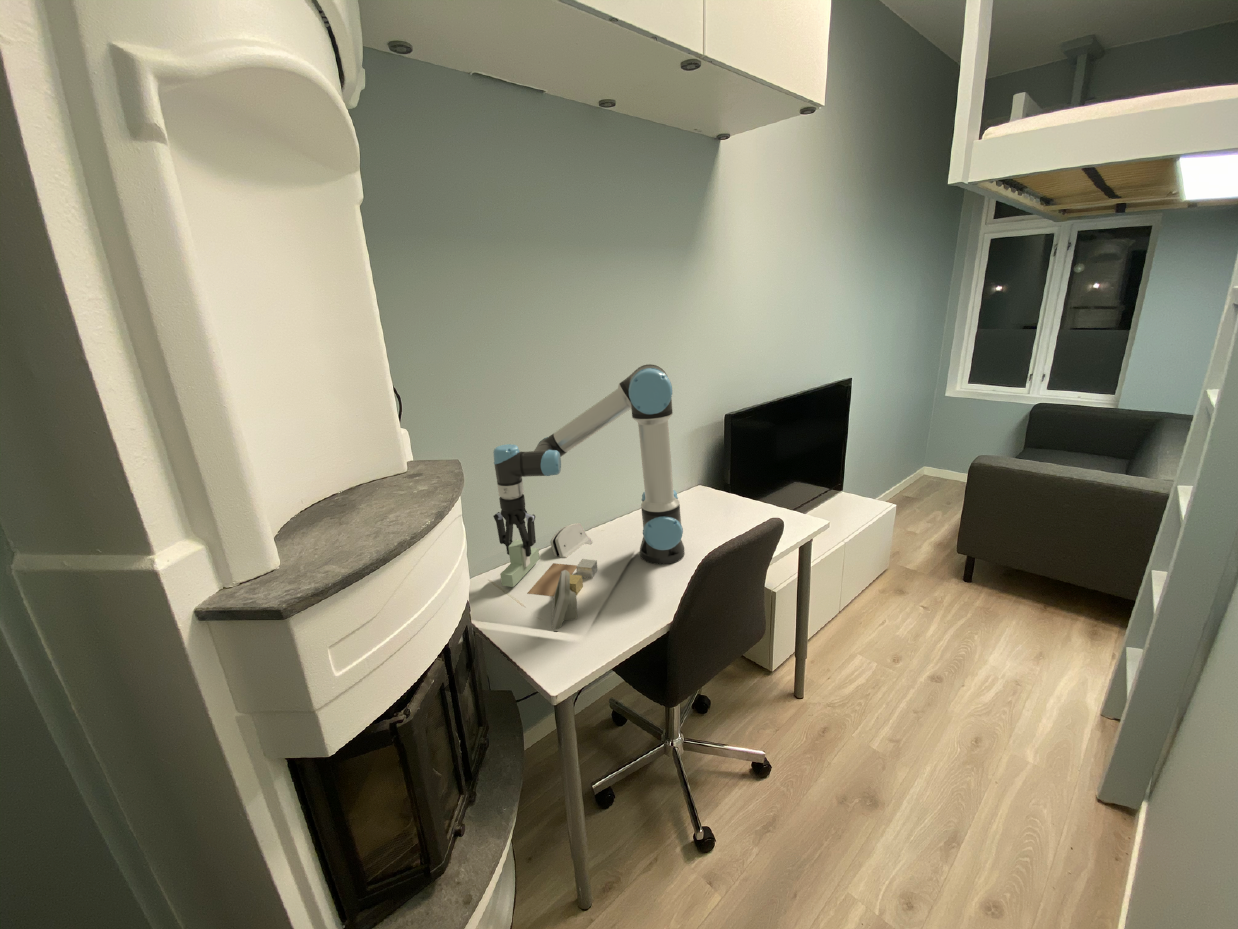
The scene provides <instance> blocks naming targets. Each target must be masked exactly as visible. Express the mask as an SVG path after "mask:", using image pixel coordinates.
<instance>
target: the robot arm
mask: <svg viewBox="0 0 1238 929" xmlns="http://www.w3.org/2000/svg"><path fill="white" fill-rule="evenodd" d="M672 395H673V386H672V383H671V380H670V378H669V377H668V374H667V373H666V371H665V370H663V368H661V367H660V366H658V365H656V364H652V363H649V364H642V365H640V366H639V367H637V368H636V369H635V370H634V371H633V372H632V373H631V374H630V375H629V376H627V377H626V378H625V379H624V380H623V379H622V381H620V382H619V383H618V386H617V388H616V389H615V390H614V391H612V392H611V393H609V394H607V396H605V397H604V398H602V399H600V400H599V401H598V402H596V403H595V404H594V405H592V406H591V407H589V408H588V409H587V410H585V411H583V412H582V413H580V414H579V415H577V416H576V417H575V418H573V419H572V420H570V421H569V422H568V423H566V424H564V425H563V426H562V427H560V428H559V429H558V430H556V431H554V432H553V433H552V434H550V435H549V436H546V437H544V438H543V439H541V440H540V441H538V443H537V446H536V447H535V449H534V450H532V451H531V450H530V451H520V449H519V446H518V445H517V444H511V443H510V444H508V443H507V444H502V445H498V446H496V447H495V448H494V450H493V461H494V462H493V465H494V470H495V477H496V484H497V492H498V496H499V498H498V499H499V505H500V507H499V508H500V509H501V510H500V511H498V512H496V513H495V514H494V515H493V518H494V521H495V523H496V530H497V534H498V540H499V544H501V545H504V546H505V547H506V554H507V556H509V557H510V555H509V548H508V546H509V545H510V544H512V543H513V542H514V540H513V533H514V525H515V526H516V529H518V532H519V536H520V538H521V539H520V540H522V542H523V545H524V547H523V548H522V553H523V561H524V567H527V566H528V565H529V564H530V555H531V548H532V547H533V546H534V545H535V544H536V543H537V540H536V528H535V520H536V515H535V514H534V513H533V514H530V513H528V511H527V509H526V500H525V494H524V492H525V491H524V484H523V483H524V482H523V478H525V477H526V478H527V477H550V476H557V475H559V474H560V473H561V470H562V457H563V456H564V455H566V454H567V453H568V452H570V451H571V450H573V449H574V448H576V447H577V446H578V445H580V444H582V443H583V442H584V441H586V440H587V439H589V438H590V437H592V436H593V435H595V434H597V433H598V432H600V431H601V430H602V429H604V428H605V427H607V426H608V425H609V424H611V423H613V422H614V421H616V420H617V419H619V418H620V417H622V416H623V415H625V414H627V413H628V412H630V411H631V418H632V419H633V420H634V421H635V422H637V426H638V427H637V428H638V436H639V445H640V446H639V447H640V454H641V455H640V458H641V465H642V466H641V468H642V477H643V486H644V491H643V492H642V493H641V494H642V495H641V501H642V502H641V505H640V508H641V520H642V527H643V528H642V540H641V542H640V547H639V557H640V558H641V559H642V560H643V561H644V562H647V563H650V564H652V565H653V564H654V565H669V564H674V563H676V562H679V561H681V560H682V559H683V558H684V556H685V554H686V553H685V546H684V543H683V540H682V538H683V534H684V528H683V526H682V519H681V518H682V517H681V516H682V515H681V505H680V500H679V497H678V492H677V491H676V490H675V489H674V482H673V481H674V480H673V469H672V457H671V456H672V454H671V443H670V441H671V440H670V432H669V431H670V430H669V419H670V418H671V417H672V415H673V413H674V412H673V402H672V401H673V400H672V397H673V396H672ZM525 519H526V520H525ZM504 520H505V521H504ZM510 564H511V562H510Z"/></svg>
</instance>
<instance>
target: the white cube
mask: <svg viewBox="0 0 1238 929" xmlns="http://www.w3.org/2000/svg"><path fill="white" fill-rule="evenodd" d="M598 567H599V566H598V560H597V559H584V558H582V559H581V560H580V561H579V562H578V564H577V566H576V575H581V576H582V579H591V580H592V579H593V578H594V577H595V576H596V574H597V573H598V572H599V568H598Z"/></svg>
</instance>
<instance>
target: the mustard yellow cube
mask: <svg viewBox="0 0 1238 929" xmlns="http://www.w3.org/2000/svg"><path fill="white" fill-rule="evenodd" d="M583 581H584V580H583V578H582V576H581V575H577V574H572V575H571V574H570V590H571V591H572V592H575V594H576V596H578V595H579V593H580V592H581V590H583V588H584V582H583Z"/></svg>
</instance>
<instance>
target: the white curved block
mask: <svg viewBox="0 0 1238 929" xmlns="http://www.w3.org/2000/svg"><path fill="white" fill-rule="evenodd" d="M591 544H593V540H592V538H591V537H589V536H588V534H587V533H586V531H585V529H584V527H583V525H582V523H577V522H576V523H572V524H567V525H565V526H563V527H562V528H560V529H559V530H557V532H555V534H554V535H553V536H552V538H551V540H550V545H551V549H552V552H553V556H555V557H559V558H561V559H567V558H568V557H569V556H571V555H572V554H573V553H575V552H576V551H577V550H579V549H580V548H582V546H584V545H591Z"/></svg>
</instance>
